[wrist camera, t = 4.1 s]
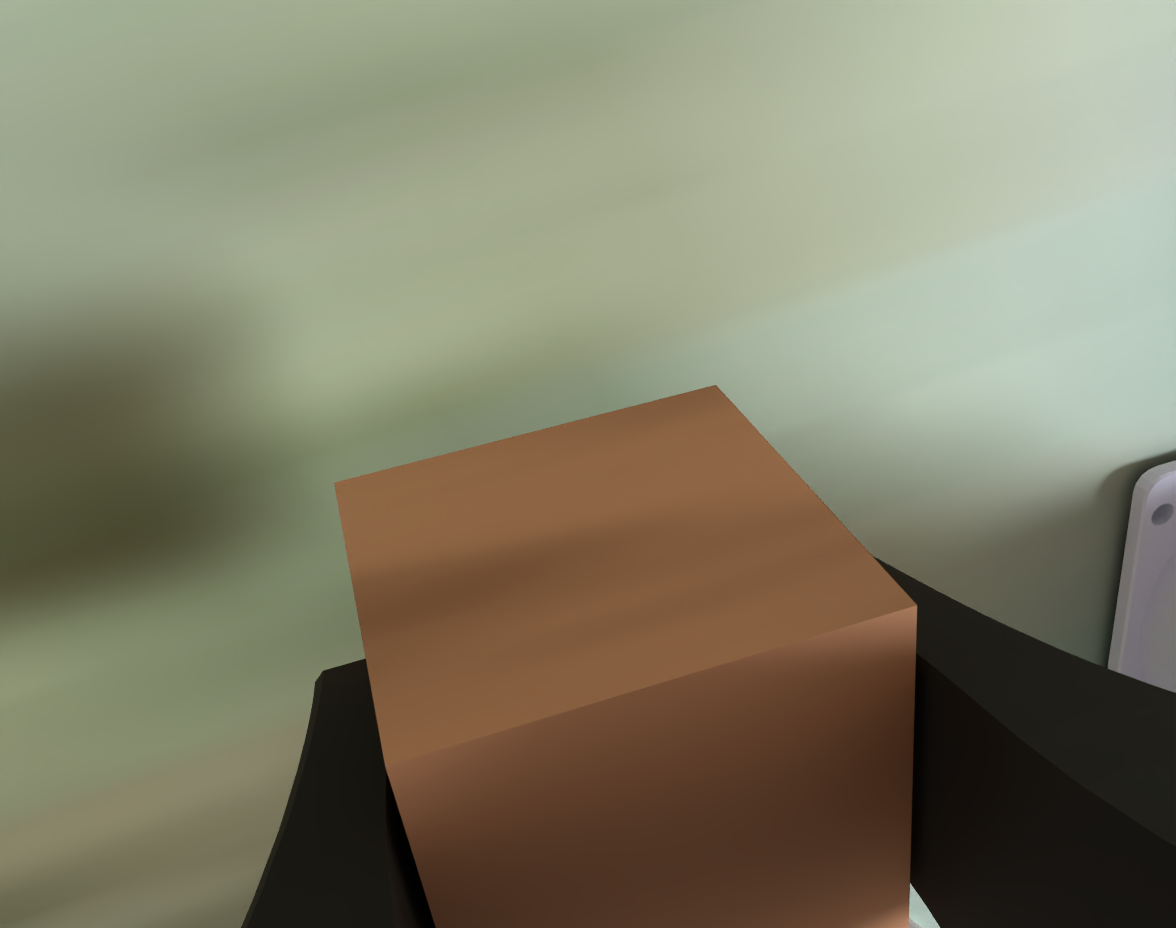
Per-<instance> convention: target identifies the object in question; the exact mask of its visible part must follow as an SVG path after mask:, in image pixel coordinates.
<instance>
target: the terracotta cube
mask: <svg viewBox="0 0 1176 928" xmlns="http://www.w3.org/2000/svg"><path fill="white" fill-rule="evenodd" d="M334 484H335V490H336V496H337V501H338V507H339V512H340V518H341V523H342V529H343V534H344V540H345V546H346V551H347V557H348V562H349V568H350V573H351V579H352V584H353V590H354V596H355V601H356V607H357V612H358V618H359V623H360V629H361V634H362V640H363V646H364V651H365V657H366V662H367V668H368V673H369V679H370V685H371V690H372V696H373V701H374V707H375V712H376V718H377V723H378V729H379V735H380V740H381V746H382V751H383V757H384V762H385V767H386V770H387V774H388V777H389V780H390V783H391V786H392V790H393V793H394V796H395V799H396V802H397V805H398V809H399V812H400V815H401V818H402V821H403V825H404V828H405V831H406V834H407V837H408V841H409V844H410V847H411V850H412V853H413V857H414V860H415V863H416V866H417V869H418V872H419V876H420V879H421V882H422V885H423V888H424V892H425V895H426V898H427V901H428V904H429V908H430V911H431V914H432V917H433V920H434V924H435V927H436V928H909V895H910V858H911V820H912V782H913V744H914V706H915V668H916V630H917V605H916V603H915V602H914V601H913V600H912V599H911V598H910V597H909V596H908V595H907V594H906V593H905V591H904V590H903V589H902V588H901V587H900V586H899V585H898V584H897V583H896V582H895V580H894V579H893V578H892V577H891V576H890V575H889V574H888V573H887V572H886V571H885V570H884V568H883V567H882V566H881V565H880V564H879V563H878V562H877V561H876V560H875V559H874V557H873V556H872V555H871V554H870V553H869V552H868V551H867V550H866V549H865V548H864V547H863V545H862V544H861V543H860V542H859V541H858V540H857V539H856V538H855V537H854V536H853V534H852V533H851V532H850V531H849V530H848V529H847V528H846V527H845V526H844V525H843V524H842V522H841V521H840V520H839V519H838V518H837V517H836V516H835V515H834V514H833V513H832V512H831V510H830V509H829V508H828V507H827V506H826V505H825V504H824V503H823V502H822V501H821V499H820V498H819V497H818V496H817V495H816V494H815V493H814V492H813V491H812V490H811V489H810V487H809V486H808V485H807V484H806V483H805V482H804V481H803V480H802V479H801V478H800V476H799V475H798V474H797V473H796V472H795V471H794V470H793V469H792V468H791V467H790V466H789V464H788V463H787V462H786V461H785V460H784V459H783V458H782V457H781V456H780V455H779V454H778V452H777V451H776V450H775V449H774V448H773V447H772V446H771V445H770V444H769V443H768V441H767V440H766V439H765V438H764V437H763V436H762V435H761V434H760V433H759V432H758V431H757V429H756V428H755V427H754V426H753V425H752V424H751V423H750V422H749V421H748V420H747V418H746V417H745V416H744V415H743V414H742V413H741V412H740V411H739V410H738V409H737V408H736V406H735V405H734V404H733V403H732V402H731V401H730V400H729V399H728V398H727V397H726V395H725V394H724V393H723V392H722V391H721V390H720V389H719V388H718V387H717V386H716V385H714V386H710V387H706V388H702V389H698V390H694V391H691V392H687V393H683V394H679V395H675V396H671V397H667V398H663V399H659V400H655V401H652V402H648V403H644V404H640V405H636V406H632V407H628V408H624V409H620V410H616V411H612V412H609V413H605V414H601V415H597V416H593V417H589V418H585V419H581V420H577V421H573V422H570V423H566V424H562V425H558V426H554V427H550V428H546V429H542V430H538V431H534V432H530V433H527V434H523V435H519V436H515V437H511V438H507V439H503V440H499V441H495V442H491V443H488V444H484V445H480V446H476V447H472V448H468V449H464V450H460V451H456V452H452V453H449V454H445V455H441V456H437V457H433V458H429V459H425V460H421V461H417V462H413V463H409V464H406V465H402V466H398V467H394V468H390V469H386V470H382V471H378V472H374V473H370V474H367V475H363V476H359V477H355V478H351V479H347V480H343V481H339V482H335V483H334Z"/></svg>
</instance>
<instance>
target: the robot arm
mask: <svg viewBox="0 0 1176 928" xmlns="http://www.w3.org/2000/svg"><path fill="white" fill-rule="evenodd" d="M874 559H875V560H876V561H877V562H878V563H879V564H880V565H881V566H882V567H883V568H884V570H885V571H886V572H887V573H888V574H889V575H890V576H891V577H892V578H893V579H894V580H895V582H896V583H897V584H898V585H899V586H900V587H901V588H902V589H903V590H904V591H905V593H906V594H907V595H908V596H909V597H910V598H911V599H912V600H913V601H914V602H915V603H916V605H917V630H916V668H915V706H914V744H913V782H912V820H911V858H910V883H911V885H912V886H913V887H914V889H915V890H916V892H917V893H918V895H919V896H920V897H921V899H922V900H923V902H924V903H925V904H926V906H927V908H928V909H929V911H930V912H931V914H932V915H933V917H934V918H935V920H936V922H937V923H938V925H939V926H940V928H1176V460H1175V461H1172V462H1168V463H1165V464H1161V465H1158V466H1156V467H1153V468H1151V469H1149V470H1147V471H1146V472H1145V473H1144V474H1143V475H1142V476H1141V477H1140V478H1139V480H1138V481H1137V482H1136V485H1135V488H1134V491H1133V496H1132V503H1131V510H1130V517H1129V524H1128V531H1127V538H1126V545H1125V551H1124V558H1123V565H1122V572H1121V579H1120V586H1119V593H1118V600H1117V607H1116V614H1115V620H1114V627H1113V634H1112V641H1111V648H1110V655H1109V662H1108V669H1107V668H1105V667H1102V666H1099V665H1097V664H1094V663H1091V662H1089V661H1086V660H1084V659H1081V658H1079V657H1077V656H1074V655H1072V654H1069V653H1067V652H1064V651H1062V650H1060V649H1057V648H1055V647H1053V646H1051V645H1048V644H1046V643H1044V642H1042V641H1040V640H1037V639H1035V638H1033V637H1031V636H1028V635H1026V634H1024V633H1022V632H1019V631H1017V630H1015V629H1013V628H1010V627H1008V626H1006V625H1004V624H1002V623H1000V622H998V621H996V620H994V619H992V618H990V617H988V616H985V615H983V614H981V613H979V612H977V611H975V610H973V609H971V608H969V607H967V606H965V605H963V604H961V603H959V602H957V601H956V600H954V599H952V598H950V597H948V596H946V595H944V594H942V593H940V592H938V591H936V590H934V589H932V588H931V587H929V586H927V585H925V584H923V583H921V582H919V581H917V580H916V579H914V578H912V577H910V576H908V575H906V574H905V573H903V572H901V571H899V570H897V569H895V568H894V567H892V566H890V565H888V564H886V563H884V562H883V561H881V560H879V559H877V558H875V557H874ZM241 928H436V927H435V924H434V920H433V917H432V914H431V911H430V908H429V904H428V901H427V898H426V895H425V892H424V888H423V885H422V882H421V879H420V876H419V872H418V869H417V866H416V863H415V860H414V857H413V853H412V850H411V847H410V844H409V841H408V837H407V834H406V831H405V828H404V825H403V821H402V818H401V815H400V812H399V809H398V805H397V802H396V799H395V796H394V793H393V790H392V786H391V783H390V780H389V777H388V774H387V770H386V767H385V762H384V757H383V751H382V746H381V740H380V735H379V729H378V723H377V718H376V712H375V707H374V701H373V696H372V690H371V685H370V679H369V673H368V668H367V662H366V659H363V660H359V661H356V662H352V663H349V664H345V665H342V666H338V667H335V668H331V669H328V670H324V671H323V672H322V673H321V675H320V676H319V677H318V679H317V680H316V682H315V689H314V698H313V704H312V709H311V715H310V720H309V725H308V729H307V734H306V738H305V742H304V746H303V750H302V754H301V758H300V762H299V766H298V770H297V773H296V776H295V780H294V783H293V786H292V790H291V793H290V796H289V800H288V803H287V806H286V809H285V813H284V816H283V819H282V822H281V825H280V828H279V831H278V834H277V837H276V840H275V843H274V845H273V848H272V851H271V853H270V856H269V859H268V861H267V864H266V867H265V869H264V872H263V875H262V877H261V880H260V882H259V885H258V888H257V890H256V893H255V896H254V898H253V901H252V903H251V906H250V908H249V911H248V913H247V915H246V918H245V920H244V922H243V925H242V927H241Z"/></svg>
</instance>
